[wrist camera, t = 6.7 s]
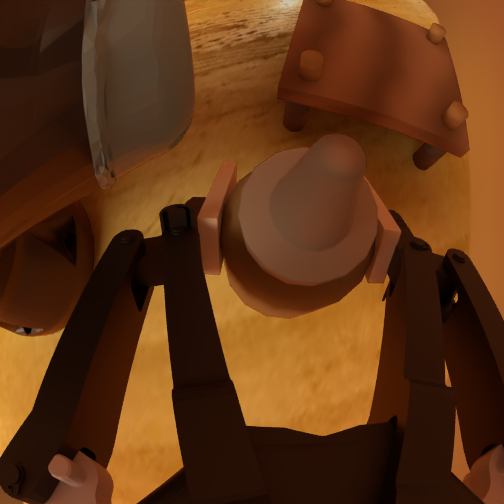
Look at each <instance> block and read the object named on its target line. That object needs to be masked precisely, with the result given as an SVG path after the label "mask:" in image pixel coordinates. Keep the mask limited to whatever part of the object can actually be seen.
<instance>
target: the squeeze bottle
mask: <svg viewBox="0 0 504 504" xmlns="http://www.w3.org/2000/svg"><path fill="white" fill-rule="evenodd" d="M366 168H367V161H366V155H365V153H364V151H363V149H362V147H361V146H360V145H359V144H358V143H357V142H356V141H355V140H354V139H352V138H350V137H348V136H346V135H343V134H337V133H332V134H327V135H324V136H323V137H321V138H320V139H318V140H317V141H316V142H315V143H314V144H313V145H312V146H311V147H310V148H307V147H298V148H293V149H289V150H285V151H280V152H276V153H275V154H273V155H272V156H270V157H269V158H268V159H266V160H265V161H263V162H262V163H260V164H259V165H258V166H256V167H255V168H254V170H253V171H252V172H251V173H249V174H248V175H246V176H245V177H244V178H242V179H241V180H240V181H239V182H238V184H237V185H236V187H235V189H234V190H233V192H232V193H231V195H230V197H229V198H228V200H227V202H226V203H225V205H224V209H223V216H222V223H221V229H220V240H221V244H222V249H223V253H224V259H223V260H224V265H225V268H226V272H227V276H228V279H229V283H230V286H231V287H232V288H233V290H234V291H235V292H236V294H237V295H238V296H239V297H240V299H241V300H242V301H243V303H244V304H245V305H247V306H249V307H251V308H252V309H254V310H256V311H258V312H260V313H261V314H263V315H265V316H270V317H279V318H288V319H290V318H294V317H297V316H300V315H304V314H307V313H310V312H313V311H316V310H318V309H321V308H324V307H326V306H329V305H331V304H334V303H336V302H339V301H340V300H341V299H342V298H343V297H344V296H346V295H347V294H348V293H349V292H350V291H351V290H352V289H353V288H355V287H356V286H357V285H358V284H359V283H360V282H361V281H362V279H363V277H364V275H365V273H366V271H367V269H368V266H369V264H370V262H371V260H372V258H373V255H374V247H375V238H376V235H377V223H378V207H377V204H376V202H375V199H374V196H373V194H372V191H371V189H370V186H369V183H368V182H367V181H366V180H365V178H364V176H365V172H366Z"/></svg>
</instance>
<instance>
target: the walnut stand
mask: <svg viewBox="0 0 504 504" xmlns="http://www.w3.org/2000/svg"><path fill="white" fill-rule="evenodd" d="M445 33H446V30H445V29H444V28H443V27H442V26H440V25H439V24H436V23H433V24H432V26H431V28H430V30H428V29H426V28H424V27H421V26H419V25H417V24H414V23H412V22H409V21H407V20H404V19H402V18H399V17H397V16H394V15H391V14H388V13H386V12H383V11H380V10H377V9H374V8H370V7H367V6H364V5H361V4H357V3H353V2H350V1H346V0H303V3H302V7H301V10H300V13H299V16H298V20H297V23H296V27H295V30H294V33H293V37H292V40H291V43H290V47H289V50H288V54H287V57H286V61H285V64H284V67H283V71H282V74H281V78H280V81H279V85H278V93H277V99H279V100H284V101H285V110H284V119H283V124H284V126H285V128H286V129H288V130H289V131H293V132H298V131H300V130H302V129H303V128H304V126H305V122H306V117H307V113H308V109H309V106H312V107H316V108H320V109H324V110H328V111H332V112H336V113H339V114H343V115H347V116H350V117H354V118H357V119H360V120H364V121H367V122H370V123H373V124H376V125H379V126H382V127H385V128H388V129H391V130H394V131H397V132H399V133H402V134H405V135H408V136H410V137H413V138H415V139H418V140H420V141H423V142H425V143H424V144H423V145H422V146H421V147H420V148H419V149H418V150H417V151H416V152H415V153H414V154H413V162H414V164H415V165H416V166H417V167H418V168H419V169H421V170H427V169H428V168H429V167H430V166H431V165H433V164H434V163H435V162H436V161H437V160H438V159H440V158H441V157H442V156H443V155H444V154H445V153H446V152H449V153H451V154H453V155H456V156H458V157H460V158H461V157H462V156H463V155H464V154H466V153H467V152H468V151H469V141H468V134H467V127H466V118H468V111H467V109H466V108H465V107H464V106H463V104H462V99H461V94H460V89H459V85H458V81H457V77H456V73H455V69H454V65H453V61H452V58H451V55H450V51H449V48H448V45H447V42H446V39H445V37H444V35H445Z"/></svg>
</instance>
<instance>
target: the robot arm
mask: <svg viewBox="0 0 504 504" xmlns="http://www.w3.org/2000/svg"><path fill="white" fill-rule="evenodd" d="M194 105H195V83H194V70H193V60H192V51H191V43H190V35H189V28H188V21H187V15H186V8H185V2H184V0H0V327H2V328H4V329H7V330H9V331H11V332H14V333H16V334H19V335H22V336H31V337H32V336H42V335H49V334H53V333H55V332H57V331H59V330H61V329H62V328H64V327H65V326H66V327H65V329H64V331H63V333H62V335H61V338H60V340H59V342H58V344H57V347H56V349H55V351H54V354H53V356H52V359H51V361H50V363H49V366H48V368H47V371H46V373H45V376H44V379H43V381H42V384H41V387H40V389H39V392H38V395H37V398H36V401H35V404H34V407H33V410H32V411H31V413H30V414H29V415H28V417H27V418H26V420H25V421H24V423H23V424H22V425H21V427H20V428H19V430H18V431H17V433H16V434H15V436H14V437H13V439H12V440H11V442H10V443H9V445H8V446H7V448H6V449H5V451H4V452H3V454H2V456H1V457H0V485H1V487H2V489H3V490H4V492H5V493H7V494H8V495H9V496H11V497H12V498H15V499H17V500H20V501H23V502H26V503H28V504H111V497H112V492H113V488H114V487H113V480H112V477H111V475H110V474H109V472H108V471H107V470H106V468H107V466H108V463H109V460H110V458H111V455H112V452H113V447H114V443H115V439H116V434H117V429H118V424H119V419H120V414H121V410H122V405H123V401H124V396H125V392H126V387H127V383H128V379H129V375H130V371H131V367H132V363H133V359H134V355H135V352H136V348H137V344H138V341H139V337H140V333H141V330H142V326H143V323H144V319H145V316H146V313H147V309H148V306H149V303H150V299H151V296H152V293H153V290H154V286H158V285H164V293H165V308H166V321H167V332H168V342H169V352H170V361H171V370H172V378H173V389H172V401H173V408H174V415H175V421H176V428H177V433H178V439H179V445H180V450H181V456H182V461H183V466H184V467H183V468H181V469H180V470H179V471H178V472H177V473H175V474H174V475H173V476H172V477H171V478H169V479H168V480H167V481H166V482H164V483H163V484H162V485H161V486H159V487H158V488H157V489H155V490H154V491H153V492H152V493H150V494H149V495H148V496H146V497H145V498H144V499H142V500H141V501H140V502H138V503H137V504H504V320H503V318H502V316H501V314H500V312H499V310H498V308H497V307H496V304H495V302H494V300H493V299H492V297H491V295H490V293H489V291H488V289H487V287H486V285H485V284H484V282H483V280H482V278H481V277H480V275H479V274H478V271H477V270H476V268H475V266H474V265H473V263H472V261H471V260H470V258H469V257H468V256H467V255H466V254H465V253H464V252H462V251H461V250H457V249H449V250H447V253H446V255H445V257H444V256H441V255H437V254H434V253H432V250H431V247H430V245H429V244H428V243H427V242H425V241H424V240H422V239H420V238H417V237H414V236H413V234H412V232H411V231H410V229H409V228H408V227H407V225H406V223H405V222H404V220H403V219H402V217H401V216H400V215H399V214H398V213H396V212H395V211H394V210H388V209H387V208H386V206H385V205H384V203H383V202H382V200H381V199H380V197H379V196H378V194H377V193H376V191H375V190H374V189H373V187H372V186H371V184H370V183H369V181H368V180H367V179H366V177H365V176H364V178H365V180H366V181H367V182H368V183H369V186H370V189H371V191H372V194H373V196H374V199H375V202H376V204H377V207H378V223H377V235H376V238H375V247H374V255H373V258H372V260H371V262H370V264H369V266H368V269H367V271H366V273H365V275H366V278H367V281H368V283H384V280H385V278H386V275H387V273H388V276H389V278H390V281H389V284H388V286H387V289H386V291H385V294H384V296H383V299H382V301H384V300H385V298H386V307H385V318H384V328H383V337H382V345H381V353H380V360H379V367H378V374H377V380H376V386H375V391H374V397H373V402H372V407H371V412H370V416H369V419H368V422H367V424H366V425H358V426H356V427H353V428H349V429H346V430H343V431H340V432H337V433H334V434H330V435H327V436H319V435H314V434H309V433H305V432H300V431H296V430H292V429H288V428H280V427H256V426H246V424H245V421H244V417H243V414H242V411H241V407H240V404H239V400H238V397H237V393H236V390H235V387H234V384H233V381H232V380H231V379H230V377H229V373H228V369H227V366H226V362H225V358H224V354H223V350H222V346H221V342H220V338H219V334H218V330H217V326H216V322H215V318H214V314H213V309H212V305H211V301H210V297H209V292H208V288H207V283H206V279H205V274H212V275H220V272H221V268H222V263H223V259H224V253H223V249H222V244H221V240H220V229H221V223H222V216H223V209H224V205H225V203H226V202H227V200H228V198H229V197H230V195H231V193H232V192H233V190H234V189H235V187H236V185H237V162H225V161H223V163H222V165H221V167H220V170H219V172H218V174H217V176H216V178H215V180H214V182H213V184H212V186H211V189H210V191H209V193H208V195H207V197H193V198H191V199H190V200H188V201H187V202H186V203H185V204H174V205H170V206H167V207H165V208H163V209H162V210H161V211H160V213H159V216H160V222H161V229H162V235H161V236H157V237H152V238H146V239H144V237H143V234H142V232H141V231H139V230H133V229H131V230H125V231H122V232H120V233H118V234H117V235H115V236H114V238H113V239H112V240H111V242H110V244H109V246H108V247H107V249H106V251H105V252H104V254H103V256H102V257H101V259H100V261H99V263H98V264H97V266H96V268H95V270H94V272H93V273H92V270H93V261H94V244H93V235H92V230H91V226H90V222H89V219H88V217H87V214H86V212H85V210H84V208H83V207H82V205H81V204H80V202H79V201H78V200H79V199H80V198H82V197H84V196H86V195H87V194H89V193H91V192H93V191H95V190H96V189H98V188H100V187H101V189H103V190H107V189H109V188H111V187H112V186H113V185H114V184H115V181H116V179H117V178H119V177H120V176H122V175H124V174H126V173H128V172H129V171H131V170H133V169H135V168H137V167H139V166H140V165H142V164H144V163H146V162H148V161H150V160H152V159H154V158H156V157H158V156H160V155H162V154H164V153H165V152H167V151H169V150H170V149H172V148H173V147H174V146H175V145H177V144H178V143H179V142H180V141H181V140H182V138H183V136H184V135H185V133H186V131H187V130H188V128H189V126H190V124H191V120H192V116H193V112H194ZM456 293H457V294H458V300H457V302H456V303H455V301H454V297H455V295H456ZM445 362H446V365H447V369H448V373H449V377H450V381H451V386H452V387H447V386H446V385H445ZM456 409H457V414H458V420H459V425H460V431H461V438H462V443H463V449H464V453H465V457H466V461H467V464H468V467H469V469H470V473H469V474H467V475H466V476H465V477H464V480H463V482H461V481H460V480H459V479H458V478H457V477H456V476H455V475H454V474H453V473H452V472H451V467H452V459H453V448H454V436H455V416H456V413H455V412H456Z"/></svg>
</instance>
